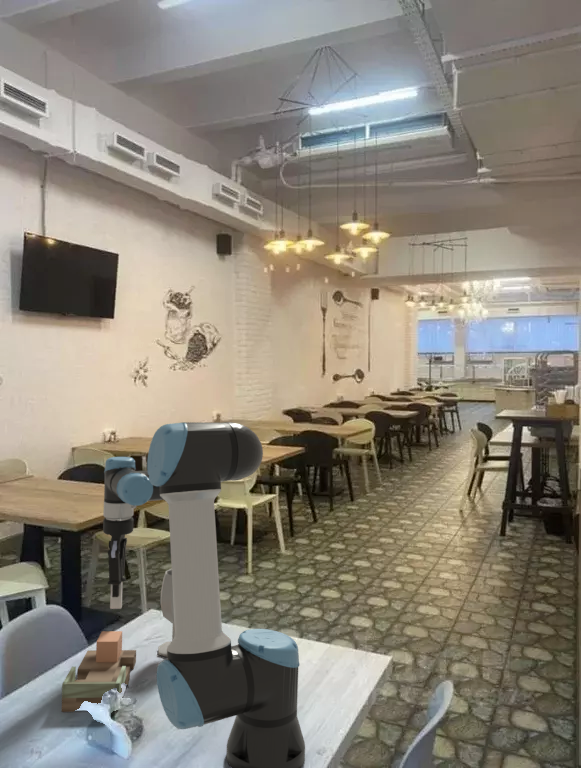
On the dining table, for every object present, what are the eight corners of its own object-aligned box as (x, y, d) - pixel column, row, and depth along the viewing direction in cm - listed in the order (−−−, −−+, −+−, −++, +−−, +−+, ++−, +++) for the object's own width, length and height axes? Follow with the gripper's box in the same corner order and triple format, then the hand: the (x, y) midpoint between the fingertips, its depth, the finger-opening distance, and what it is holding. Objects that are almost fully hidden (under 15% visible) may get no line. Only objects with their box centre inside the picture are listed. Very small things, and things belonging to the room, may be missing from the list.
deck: (118, 710, 134) (119, 683, 134) (61, 711, 133) (62, 684, 133) (135, 661, 157) (136, 638, 157) (87, 662, 156) (87, 638, 156)
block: (117, 662, 150) (117, 641, 150) (96, 662, 150) (96, 641, 150) (121, 651, 156) (122, 631, 156) (101, 651, 156) (101, 631, 156)
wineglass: (194, 645, 168) (196, 567, 168) (186, 659, 159) (188, 578, 159) (163, 642, 169) (165, 565, 168) (153, 657, 160) (155, 576, 160)
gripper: (129, 523, 154) (126, 617, 155) (137, 511, 167) (134, 598, 168) (98, 523, 154) (95, 617, 154) (109, 511, 167) (106, 598, 167)
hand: (116, 607), depth 161 cm, fingers closed
